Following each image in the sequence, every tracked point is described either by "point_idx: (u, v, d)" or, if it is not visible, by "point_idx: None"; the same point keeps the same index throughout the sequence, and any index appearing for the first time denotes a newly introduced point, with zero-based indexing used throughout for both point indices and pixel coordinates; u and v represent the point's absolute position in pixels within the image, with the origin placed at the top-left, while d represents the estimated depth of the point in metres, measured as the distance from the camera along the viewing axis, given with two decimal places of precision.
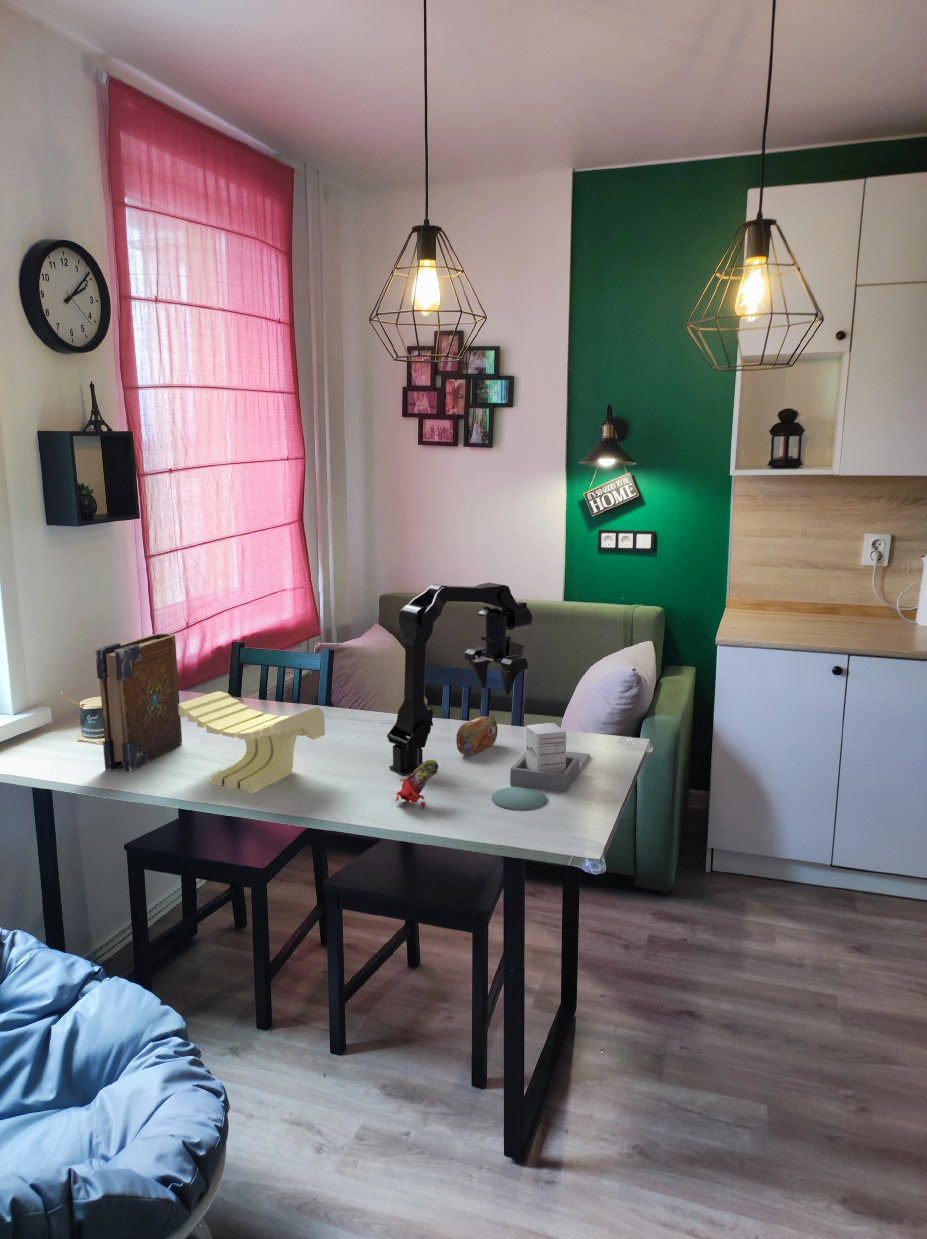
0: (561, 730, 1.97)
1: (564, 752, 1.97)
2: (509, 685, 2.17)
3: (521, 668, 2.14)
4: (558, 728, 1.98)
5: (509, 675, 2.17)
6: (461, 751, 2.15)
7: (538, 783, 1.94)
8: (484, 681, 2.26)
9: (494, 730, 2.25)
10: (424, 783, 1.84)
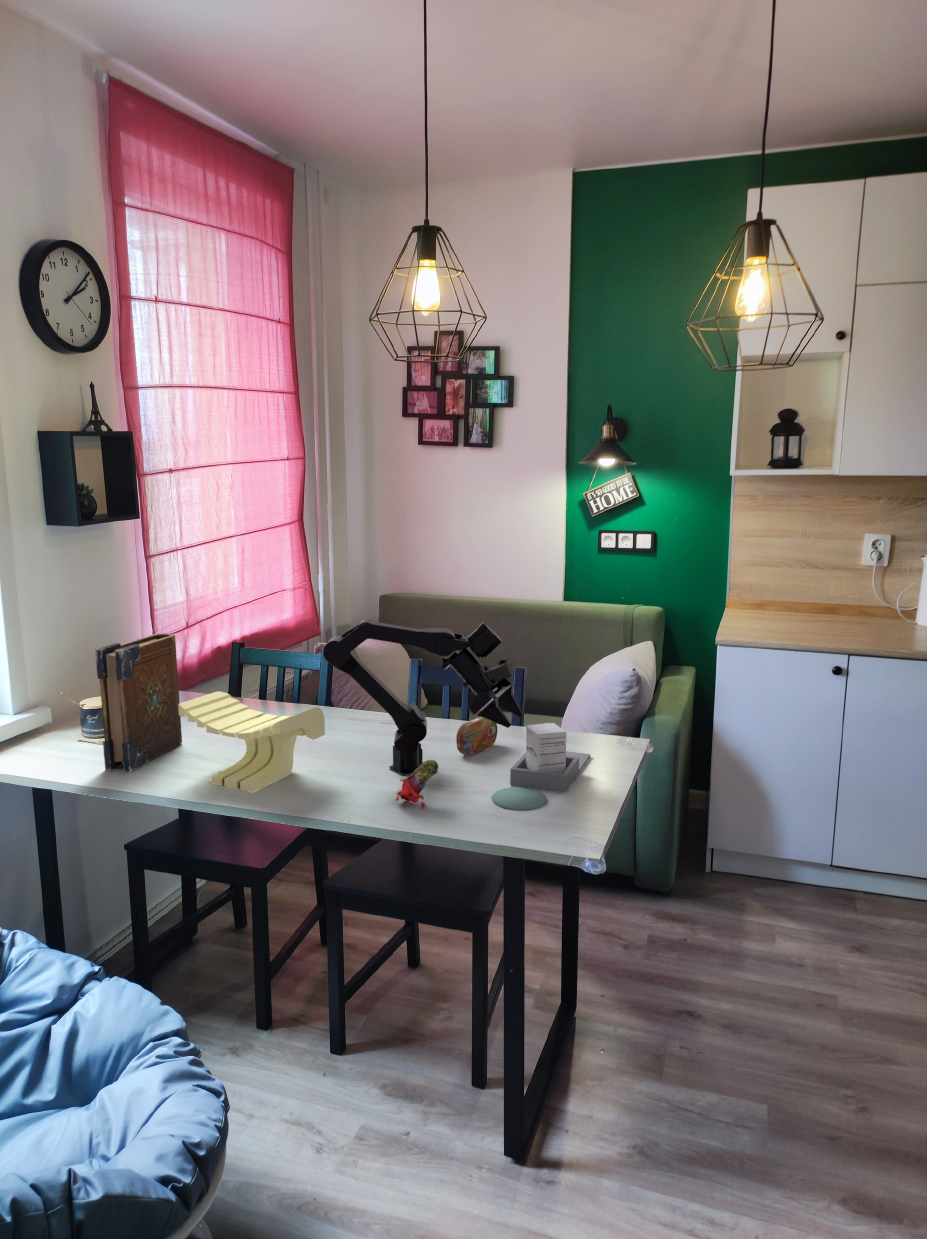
0: (561, 730, 1.97)
1: (564, 752, 1.97)
2: (499, 719, 1.96)
3: (481, 705, 1.93)
4: (558, 728, 1.98)
5: (491, 711, 1.96)
6: (461, 751, 2.15)
7: (538, 783, 1.94)
8: (517, 709, 2.05)
9: (494, 730, 2.25)
10: (424, 783, 1.84)
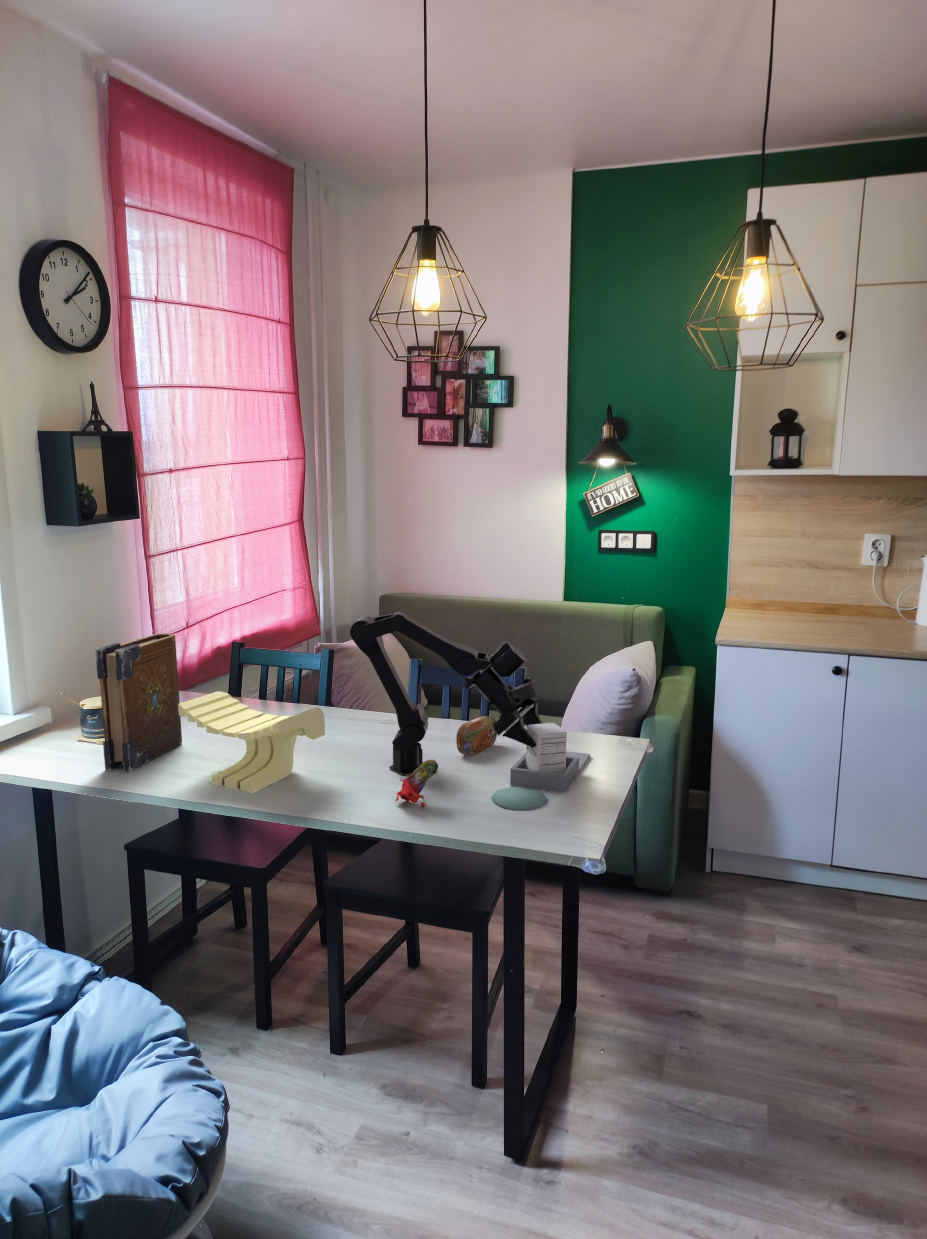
0: (561, 730, 1.97)
1: (564, 752, 1.97)
2: (525, 739, 1.95)
3: (507, 726, 1.92)
4: (558, 728, 1.98)
5: (516, 731, 1.95)
6: (461, 751, 2.15)
7: (538, 783, 1.94)
8: None
9: None
10: (424, 783, 1.84)
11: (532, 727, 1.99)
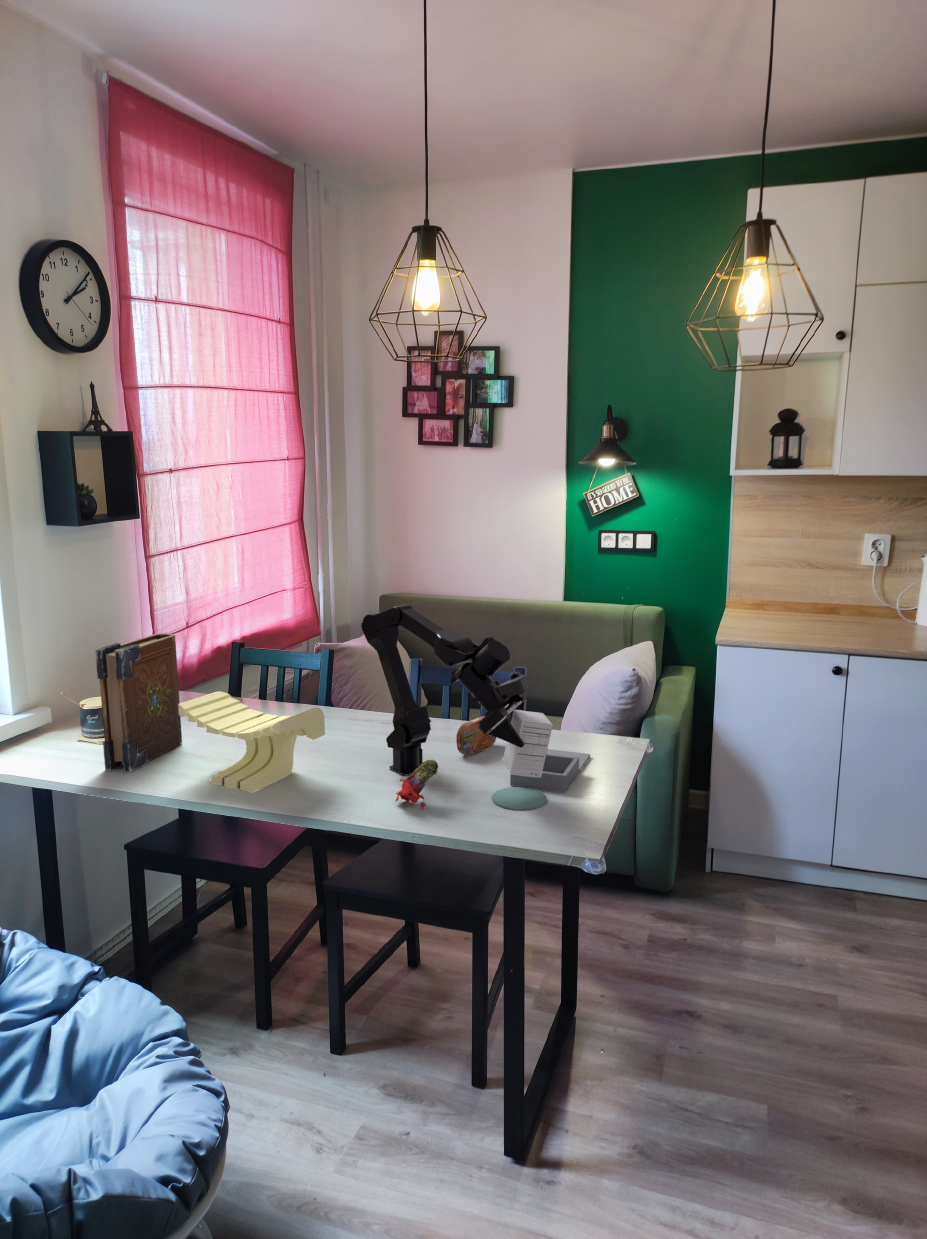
0: (548, 722, 1.85)
1: (546, 746, 1.85)
2: (512, 738, 1.82)
3: (493, 724, 1.79)
4: (545, 719, 1.86)
5: (503, 730, 1.82)
6: (461, 751, 2.15)
7: (538, 783, 1.94)
8: None
9: None
10: (424, 783, 1.84)
11: (518, 713, 1.87)
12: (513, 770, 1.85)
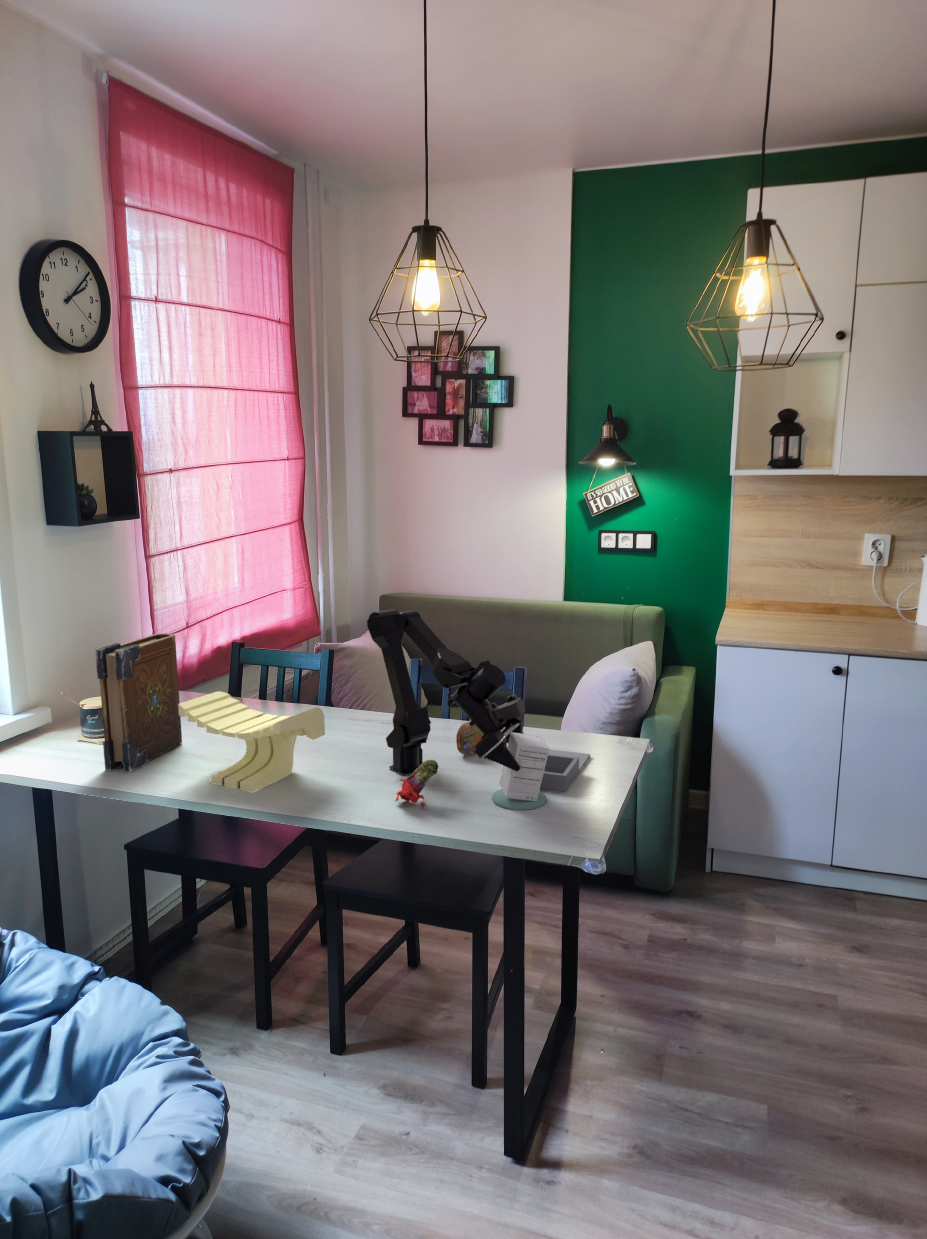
0: (544, 746, 1.84)
1: (542, 770, 1.84)
2: (508, 762, 1.82)
3: (489, 748, 1.79)
4: (542, 743, 1.85)
5: (499, 753, 1.82)
6: (461, 751, 2.15)
7: None
8: None
9: None
10: (424, 783, 1.84)
11: (515, 736, 1.87)
12: (509, 793, 1.84)
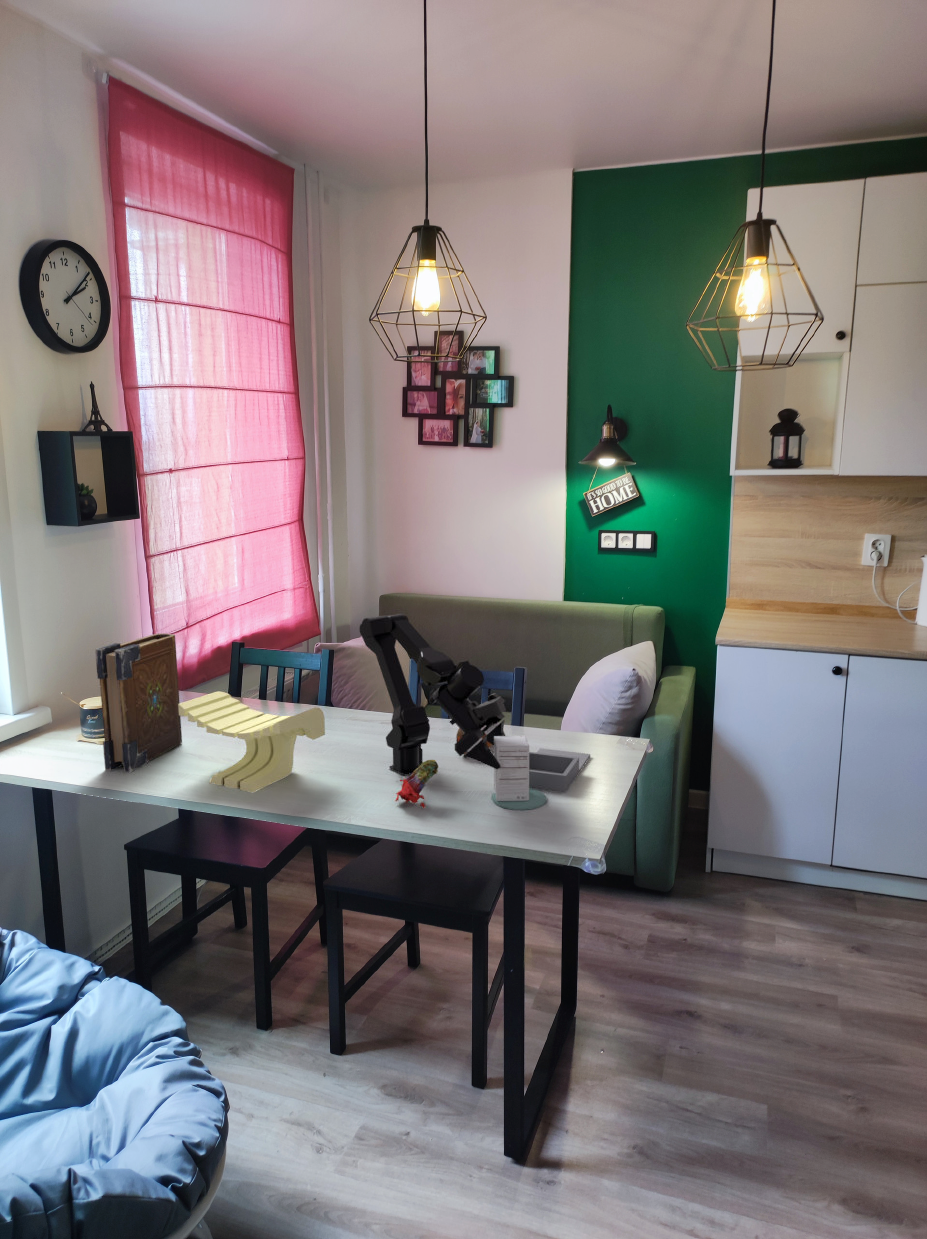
0: (524, 744, 1.85)
1: (527, 767, 1.85)
2: (488, 760, 1.84)
3: (469, 746, 1.80)
4: (523, 741, 1.86)
5: (479, 751, 1.84)
6: None
7: (538, 783, 1.94)
8: None
9: None
10: (424, 783, 1.84)
11: (497, 738, 1.89)
12: (498, 796, 1.85)
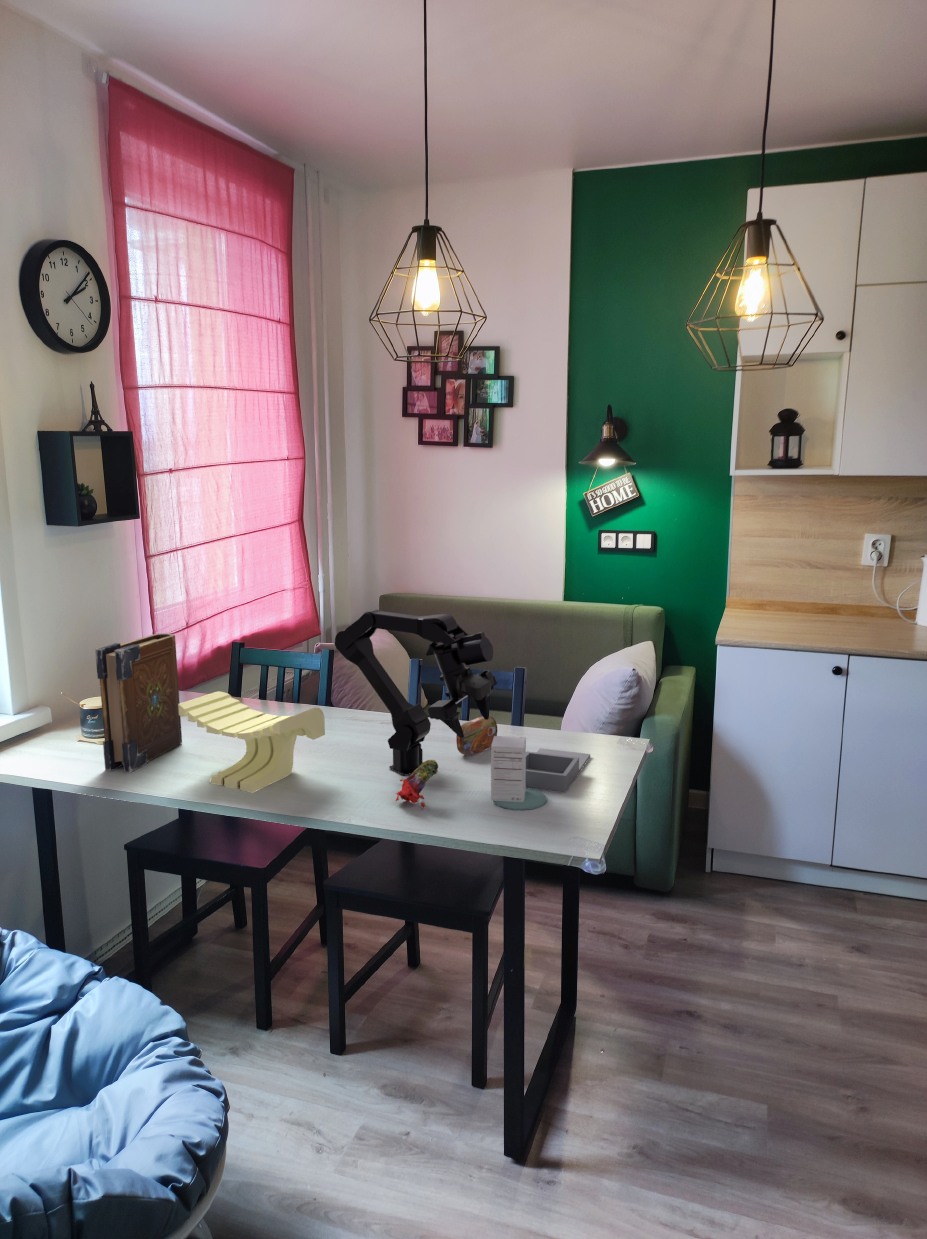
0: (520, 745, 1.84)
1: (521, 769, 1.84)
2: (454, 729, 1.97)
3: (438, 717, 1.93)
4: (520, 743, 1.86)
5: (449, 719, 1.96)
6: (461, 751, 2.15)
7: (538, 783, 1.94)
8: (485, 713, 2.04)
9: (494, 730, 2.25)
10: (424, 783, 1.84)
11: (495, 738, 1.89)
12: (493, 796, 1.86)
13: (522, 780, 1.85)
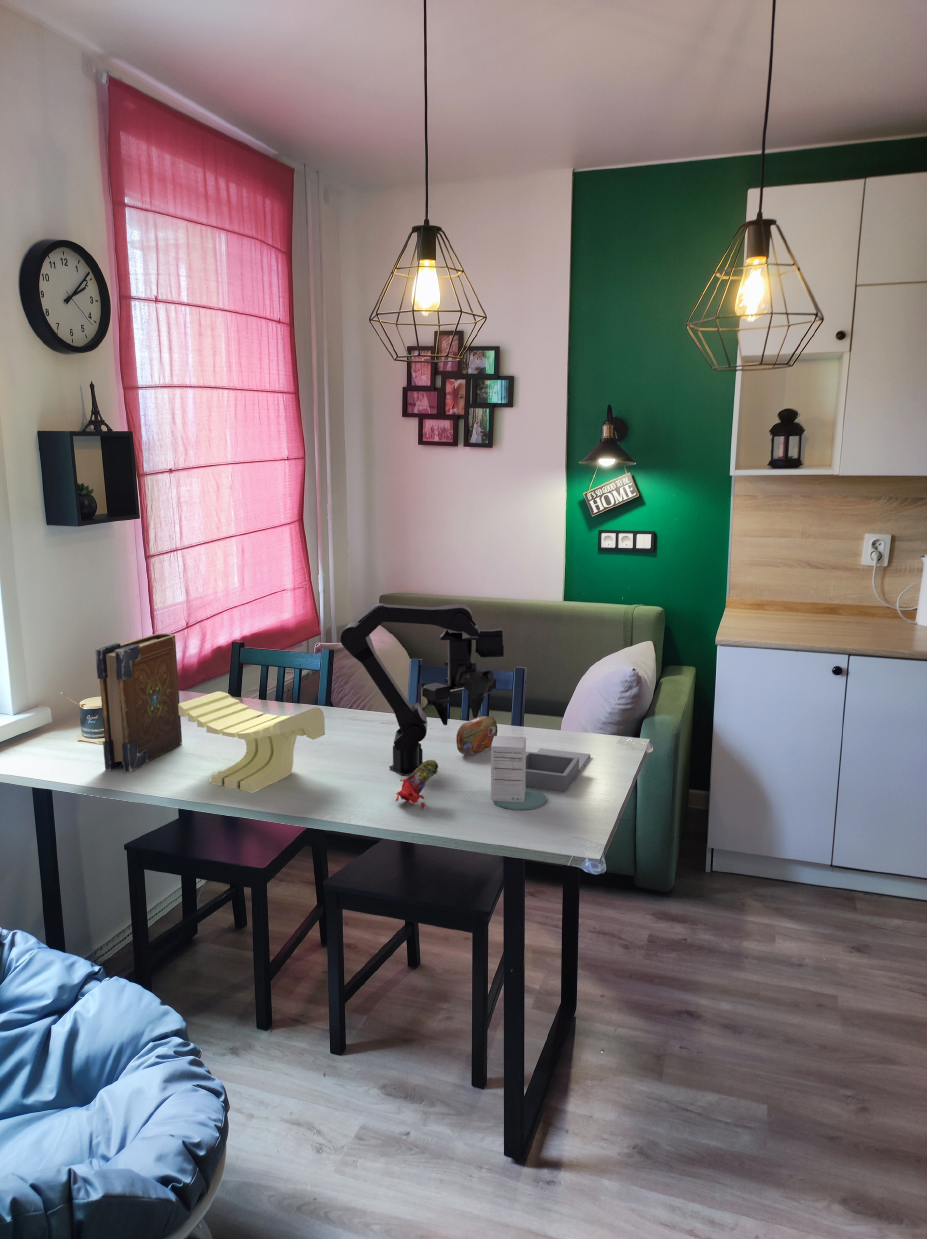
0: (520, 745, 1.84)
1: (521, 769, 1.84)
2: (441, 714, 2.01)
3: (429, 697, 1.98)
4: (520, 743, 1.86)
5: (439, 703, 2.01)
6: (461, 751, 2.15)
7: (538, 783, 1.94)
8: (475, 711, 2.08)
9: (494, 730, 2.25)
10: (424, 783, 1.84)
11: (495, 738, 1.89)
12: (493, 796, 1.86)
13: (522, 780, 1.85)
